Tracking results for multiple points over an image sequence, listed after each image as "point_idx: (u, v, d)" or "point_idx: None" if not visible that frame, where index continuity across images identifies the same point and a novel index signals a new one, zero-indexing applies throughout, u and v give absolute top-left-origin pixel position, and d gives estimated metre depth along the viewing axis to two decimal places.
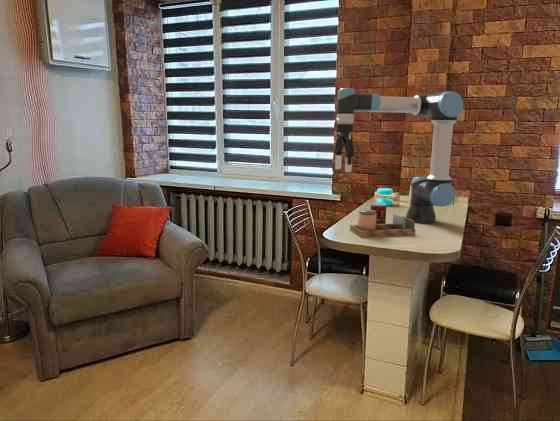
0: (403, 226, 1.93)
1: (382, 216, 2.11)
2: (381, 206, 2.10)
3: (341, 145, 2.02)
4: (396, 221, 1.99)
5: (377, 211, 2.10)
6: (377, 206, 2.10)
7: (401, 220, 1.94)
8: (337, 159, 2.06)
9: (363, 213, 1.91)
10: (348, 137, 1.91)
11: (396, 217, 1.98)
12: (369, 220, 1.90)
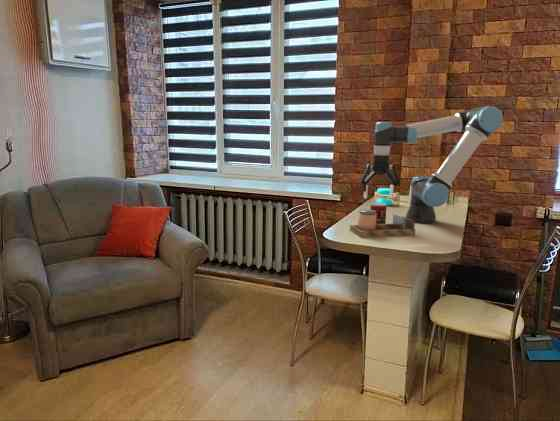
0: (403, 226, 1.93)
1: (382, 216, 2.11)
2: (381, 206, 2.10)
3: (386, 175, 2.11)
4: (396, 221, 1.99)
5: (377, 211, 2.10)
6: (377, 206, 2.10)
7: (401, 220, 1.94)
8: (390, 189, 2.14)
9: (363, 213, 1.91)
10: (366, 166, 2.09)
11: (396, 217, 1.98)
12: (369, 220, 1.90)
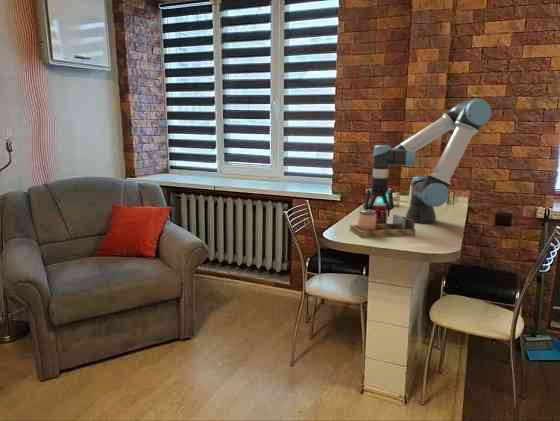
0: (403, 226, 1.93)
1: (382, 216, 2.11)
2: (381, 206, 2.10)
3: (383, 198, 2.13)
4: (396, 221, 1.99)
5: (377, 211, 2.10)
6: (377, 206, 2.10)
7: (401, 220, 1.94)
8: None
9: (363, 213, 1.91)
10: (366, 191, 2.11)
11: (396, 217, 1.98)
12: (369, 220, 1.90)
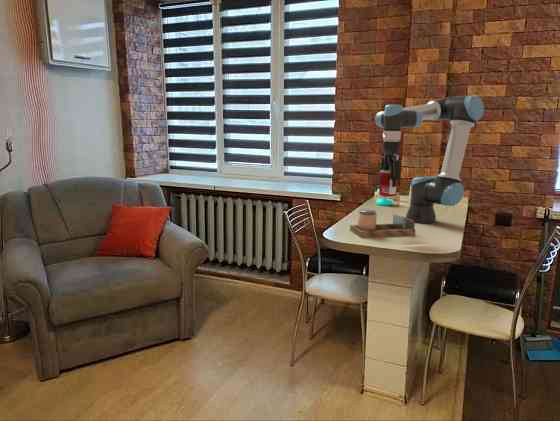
0: (403, 226, 1.93)
1: None
2: None
3: (387, 164, 1.94)
4: (396, 221, 1.99)
5: None
6: None
7: (401, 220, 1.94)
8: None
9: (363, 213, 1.91)
10: (395, 158, 1.84)
11: (396, 217, 1.98)
12: (369, 220, 1.90)
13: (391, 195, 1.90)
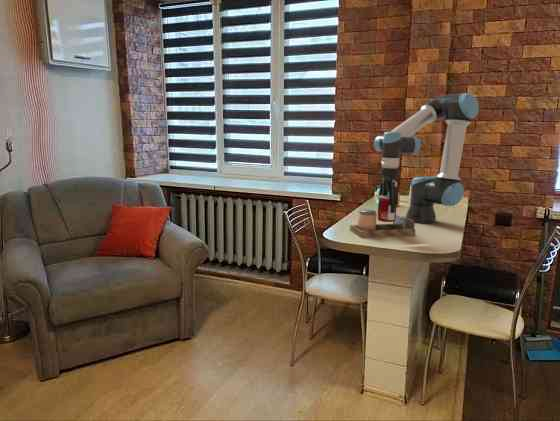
0: (403, 226, 1.93)
1: None
2: None
3: (386, 190, 1.96)
4: (396, 221, 1.99)
5: None
6: None
7: (401, 220, 1.94)
8: None
9: (363, 213, 1.91)
10: (394, 185, 1.86)
11: (396, 217, 1.98)
12: (369, 220, 1.90)
13: (390, 221, 1.92)
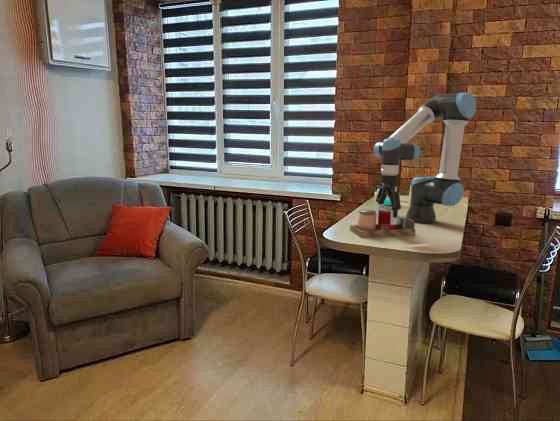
0: (403, 226, 1.93)
1: None
2: None
3: (384, 195, 1.97)
4: None
5: None
6: None
7: (401, 220, 1.94)
8: None
9: (363, 213, 1.91)
10: (394, 190, 1.86)
11: None
12: (369, 220, 1.90)
13: None
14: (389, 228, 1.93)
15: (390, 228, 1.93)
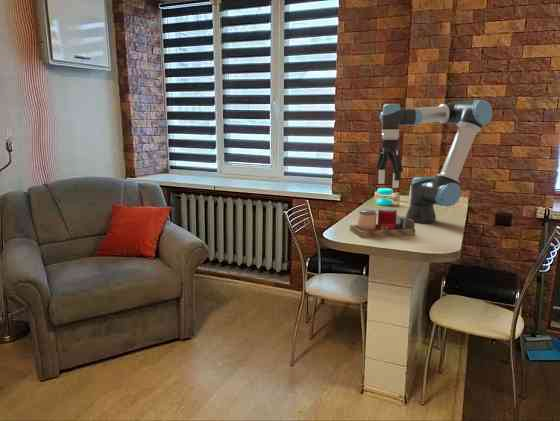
0: (403, 226, 1.93)
1: None
2: None
3: (385, 160, 2.01)
4: (396, 221, 1.99)
5: None
6: (396, 210, 1.94)
7: (401, 220, 1.94)
8: (381, 174, 2.05)
9: (363, 213, 1.91)
10: (395, 153, 1.91)
11: (396, 217, 1.98)
12: (369, 220, 1.90)
13: None
14: (389, 228, 1.93)
15: (390, 228, 1.93)
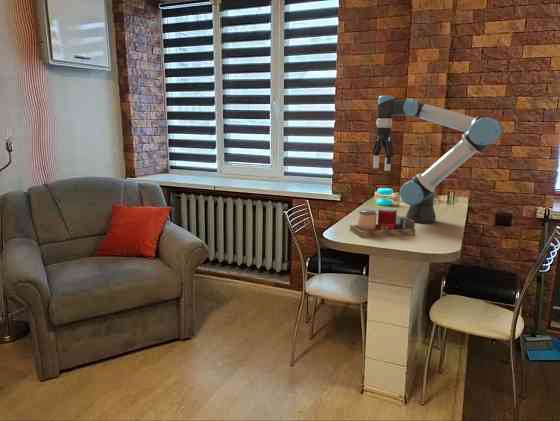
0: (403, 226, 1.93)
1: None
2: None
3: (379, 146, 2.24)
4: (396, 221, 1.99)
5: None
6: (396, 210, 1.94)
7: (401, 220, 1.94)
8: (375, 159, 2.28)
9: (363, 213, 1.91)
10: (388, 139, 2.13)
11: (396, 217, 1.98)
12: (369, 220, 1.90)
13: None
14: (389, 228, 1.93)
15: (390, 228, 1.93)
